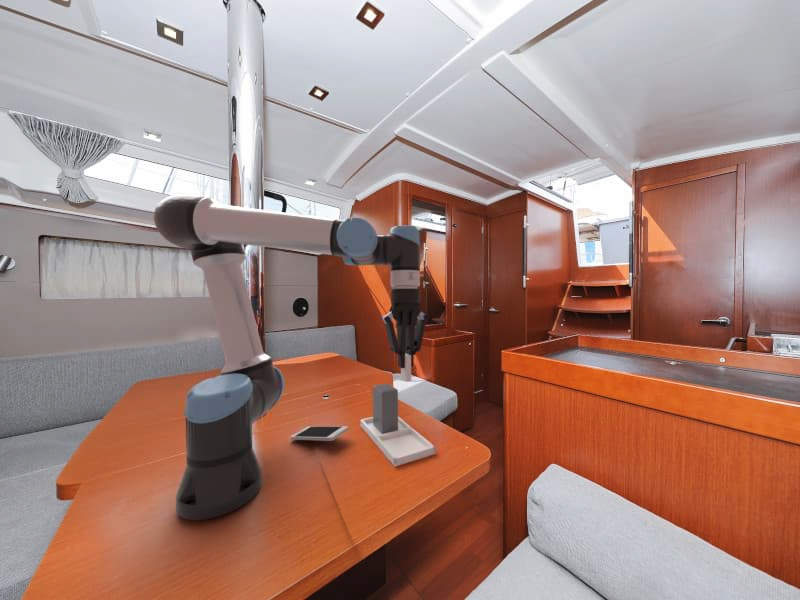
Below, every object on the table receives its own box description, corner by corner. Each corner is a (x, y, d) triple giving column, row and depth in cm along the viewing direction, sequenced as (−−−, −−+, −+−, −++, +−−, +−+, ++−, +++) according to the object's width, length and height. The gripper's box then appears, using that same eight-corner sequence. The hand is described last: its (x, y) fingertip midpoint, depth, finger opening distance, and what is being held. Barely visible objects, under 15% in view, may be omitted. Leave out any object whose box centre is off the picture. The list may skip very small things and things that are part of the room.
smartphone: (332, 441, 73) (331, 437, 73) (289, 439, 79) (289, 436, 79) (349, 429, 79) (348, 425, 79) (308, 429, 86) (308, 425, 86)
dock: (394, 466, 66) (394, 412, 66) (360, 425, 88) (359, 384, 88) (435, 453, 72) (435, 403, 71) (393, 417, 93) (393, 379, 93)
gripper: (388, 287, 66) (389, 387, 67) (434, 287, 72) (435, 380, 73) (376, 288, 73) (376, 379, 73) (419, 288, 79) (420, 373, 79)
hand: (406, 379), depth 73 cm, fingers closed
